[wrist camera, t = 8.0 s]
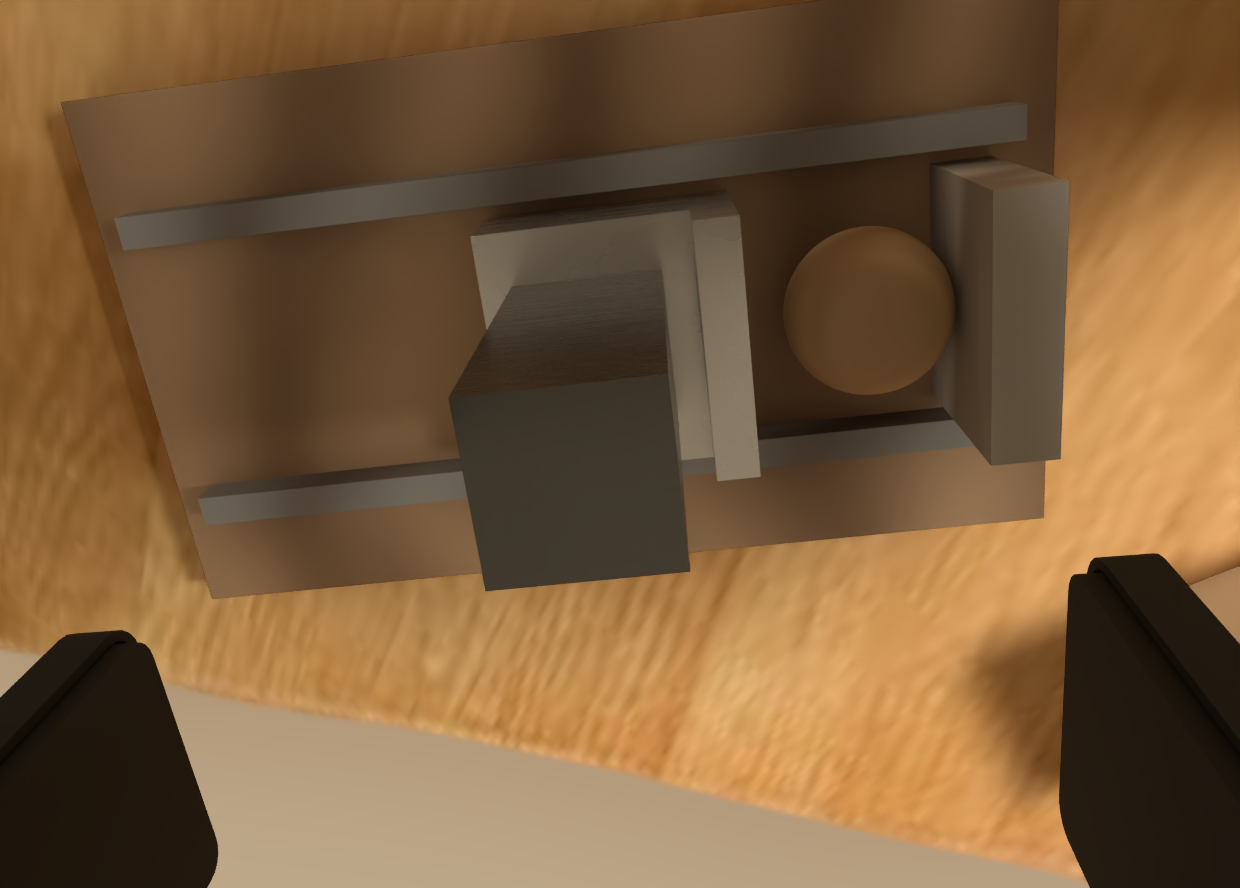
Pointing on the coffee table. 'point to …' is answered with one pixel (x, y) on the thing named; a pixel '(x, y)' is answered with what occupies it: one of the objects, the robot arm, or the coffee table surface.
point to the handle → (603, 386)
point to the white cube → (1222, 598)
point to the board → (582, 177)
